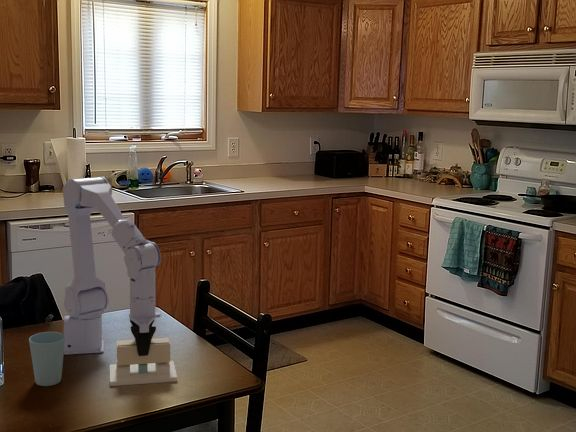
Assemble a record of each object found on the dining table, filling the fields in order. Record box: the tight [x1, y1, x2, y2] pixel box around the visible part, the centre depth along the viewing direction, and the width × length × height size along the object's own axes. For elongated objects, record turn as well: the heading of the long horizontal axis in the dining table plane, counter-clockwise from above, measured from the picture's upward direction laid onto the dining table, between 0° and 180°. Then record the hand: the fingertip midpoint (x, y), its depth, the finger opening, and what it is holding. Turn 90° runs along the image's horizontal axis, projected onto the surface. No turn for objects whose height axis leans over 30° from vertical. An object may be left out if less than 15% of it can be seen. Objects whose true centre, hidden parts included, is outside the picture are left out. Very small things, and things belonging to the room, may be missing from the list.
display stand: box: [109, 358, 178, 387], centre depth 161 cm, size 15×10×3 cm, turn 104°
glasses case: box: [116, 337, 171, 366], centre depth 160 cm, size 12×4×5 cm, turn 104°
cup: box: [28, 331, 65, 387], centre depth 155 cm, size 8×8×10 cm
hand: (142, 351), depth 160 cm, fingers closed on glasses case, 4 cm apart
